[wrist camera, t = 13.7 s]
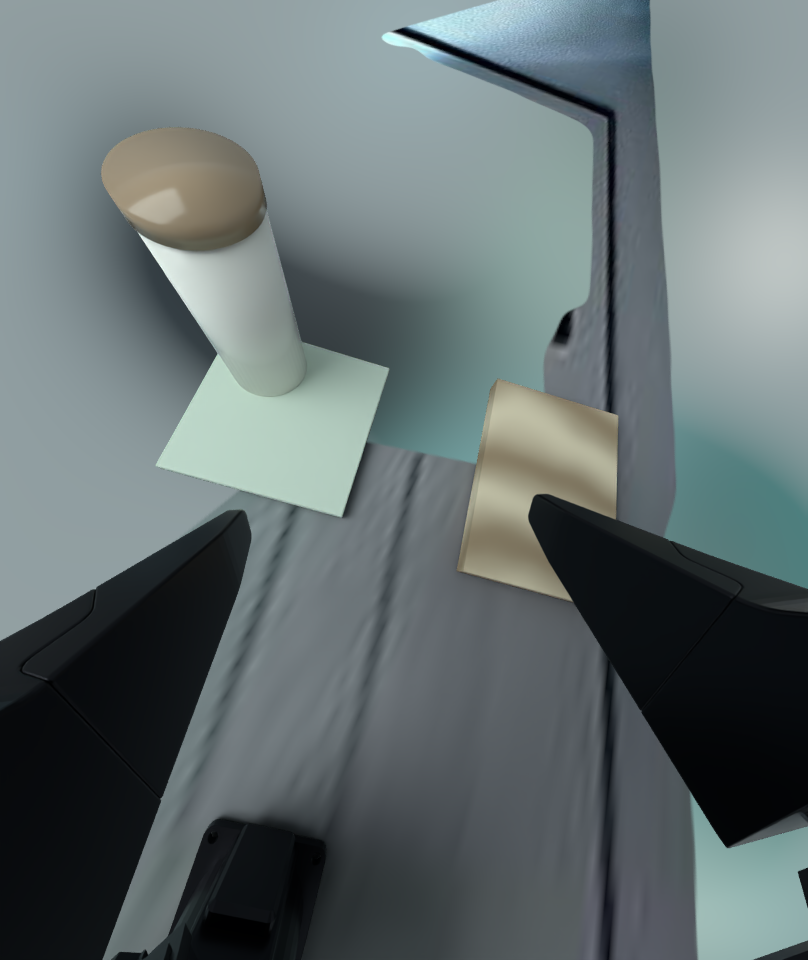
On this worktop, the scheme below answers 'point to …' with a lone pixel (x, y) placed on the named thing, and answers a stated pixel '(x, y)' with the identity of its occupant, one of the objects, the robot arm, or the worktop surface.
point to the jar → (213, 246)
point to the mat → (282, 432)
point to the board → (534, 481)
